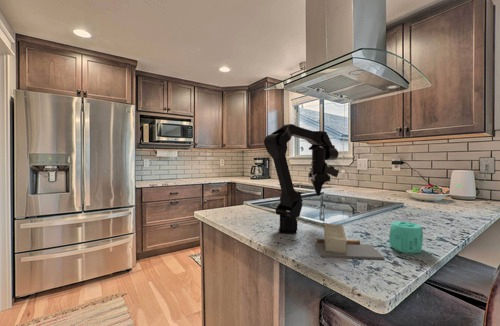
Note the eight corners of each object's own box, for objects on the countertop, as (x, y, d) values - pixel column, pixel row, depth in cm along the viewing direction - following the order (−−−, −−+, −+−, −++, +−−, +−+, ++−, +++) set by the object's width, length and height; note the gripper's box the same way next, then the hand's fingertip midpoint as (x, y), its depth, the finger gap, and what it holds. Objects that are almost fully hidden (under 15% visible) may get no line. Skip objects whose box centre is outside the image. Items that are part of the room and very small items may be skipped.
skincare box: (324, 234, 85) (324, 251, 74) (324, 223, 85) (324, 237, 73) (343, 237, 83) (346, 254, 72) (344, 225, 83) (347, 240, 71)
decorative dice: (388, 249, 77) (389, 224, 77) (394, 242, 83) (395, 219, 83) (418, 256, 72) (419, 230, 72) (422, 248, 78) (423, 224, 78)
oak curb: (317, 244, 81) (317, 239, 81) (316, 243, 82) (316, 238, 82) (359, 245, 80) (360, 241, 80) (358, 244, 81) (358, 239, 81)
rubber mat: (321, 257, 71) (321, 255, 71) (314, 244, 81) (314, 242, 81) (384, 259, 69) (384, 257, 69) (369, 246, 79) (369, 244, 79)
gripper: (343, 160, 95) (343, 199, 95) (332, 160, 113) (331, 192, 114) (315, 160, 96) (314, 199, 96) (308, 159, 114) (308, 192, 115)
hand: (318, 195), depth 105 cm, fingers closed
